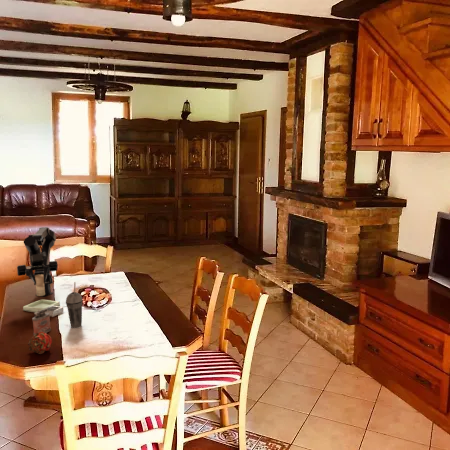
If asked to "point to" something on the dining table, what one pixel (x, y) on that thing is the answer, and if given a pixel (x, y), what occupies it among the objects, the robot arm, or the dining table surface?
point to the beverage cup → (74, 308)
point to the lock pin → (40, 285)
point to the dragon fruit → (40, 343)
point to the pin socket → (54, 310)
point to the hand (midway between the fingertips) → (40, 282)
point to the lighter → (41, 321)
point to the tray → (40, 305)
